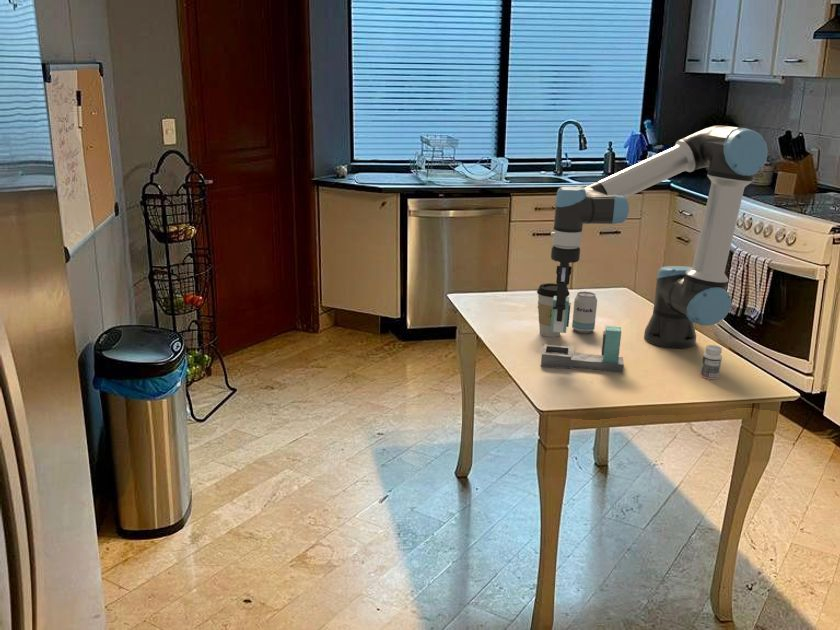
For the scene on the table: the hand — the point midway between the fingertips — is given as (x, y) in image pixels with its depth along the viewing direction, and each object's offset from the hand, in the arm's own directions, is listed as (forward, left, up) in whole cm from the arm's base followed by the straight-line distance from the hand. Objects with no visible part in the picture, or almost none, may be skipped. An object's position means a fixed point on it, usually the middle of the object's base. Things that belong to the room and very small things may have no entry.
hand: (558, 328), depth 219 cm
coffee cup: (+3, -25, -10) cm, 27 cm away
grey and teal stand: (-7, 0, -10) cm, 12 cm away
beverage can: (-7, -31, -10) cm, 33 cm away
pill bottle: (-41, -1, -10) cm, 42 cm away
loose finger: (0, 0, 0) cm, 0 cm away
